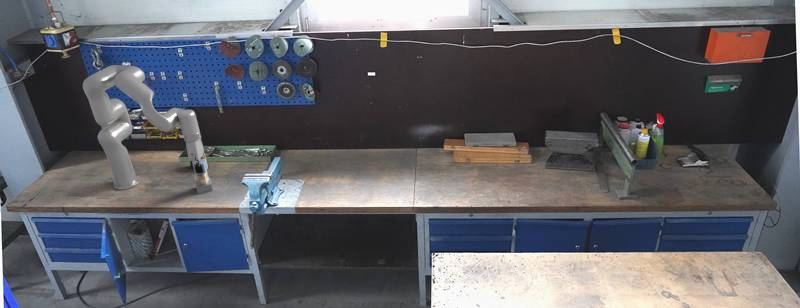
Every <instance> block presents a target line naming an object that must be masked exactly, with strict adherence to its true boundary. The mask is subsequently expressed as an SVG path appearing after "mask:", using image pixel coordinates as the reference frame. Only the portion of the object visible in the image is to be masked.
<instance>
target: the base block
mask: <svg viewBox="0 0 800 308" xmlns="http://www.w3.org/2000/svg"><path fill="white" fill-rule="evenodd" d="M195 188H196V192H197V194H198V195H200V193H201V194H204V193H208V192H209V193H210V192H213V191H214V189H213V183H212V179H211V177H209V181H208V183H207V185H198V186H196V185H195Z"/></svg>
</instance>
